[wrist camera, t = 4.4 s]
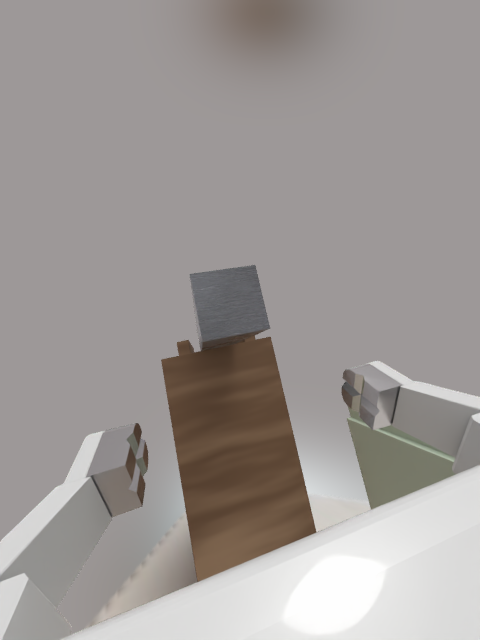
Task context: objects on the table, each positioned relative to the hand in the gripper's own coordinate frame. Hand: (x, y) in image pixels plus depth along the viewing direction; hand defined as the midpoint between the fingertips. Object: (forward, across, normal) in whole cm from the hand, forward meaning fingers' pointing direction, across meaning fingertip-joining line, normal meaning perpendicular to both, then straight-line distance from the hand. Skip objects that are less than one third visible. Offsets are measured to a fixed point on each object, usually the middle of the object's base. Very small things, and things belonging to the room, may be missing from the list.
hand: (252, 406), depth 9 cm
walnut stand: (+4, 0, +29) cm, 30 cm away
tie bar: (+12, 0, +4) cm, 12 cm away
